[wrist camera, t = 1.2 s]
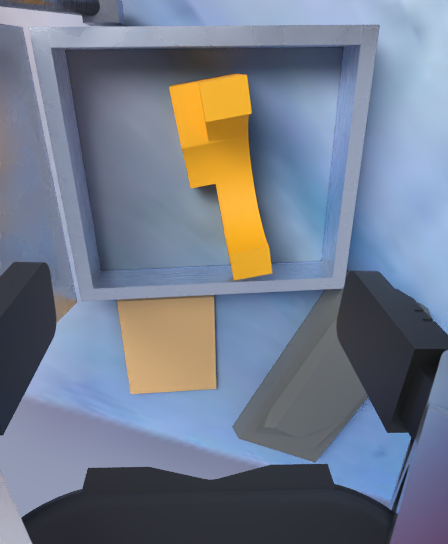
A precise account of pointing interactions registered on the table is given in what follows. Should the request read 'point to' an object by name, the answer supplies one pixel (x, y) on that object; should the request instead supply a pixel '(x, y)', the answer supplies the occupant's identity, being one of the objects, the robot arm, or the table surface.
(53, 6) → the rod
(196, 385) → the tan rectangular plate
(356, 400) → the grey bevelled block
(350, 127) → the case
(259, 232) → the yellow curved stepped piece
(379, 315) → the robot arm
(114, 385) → the table surface
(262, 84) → the table surface
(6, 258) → the lid
